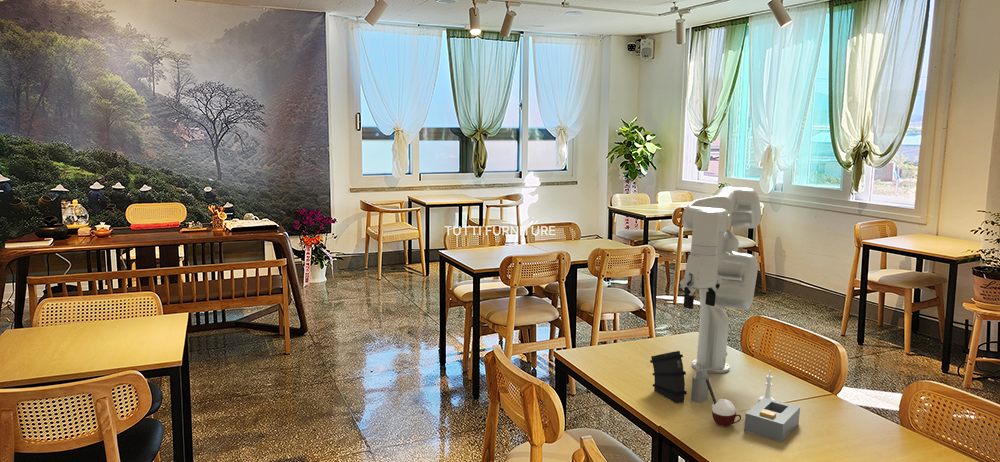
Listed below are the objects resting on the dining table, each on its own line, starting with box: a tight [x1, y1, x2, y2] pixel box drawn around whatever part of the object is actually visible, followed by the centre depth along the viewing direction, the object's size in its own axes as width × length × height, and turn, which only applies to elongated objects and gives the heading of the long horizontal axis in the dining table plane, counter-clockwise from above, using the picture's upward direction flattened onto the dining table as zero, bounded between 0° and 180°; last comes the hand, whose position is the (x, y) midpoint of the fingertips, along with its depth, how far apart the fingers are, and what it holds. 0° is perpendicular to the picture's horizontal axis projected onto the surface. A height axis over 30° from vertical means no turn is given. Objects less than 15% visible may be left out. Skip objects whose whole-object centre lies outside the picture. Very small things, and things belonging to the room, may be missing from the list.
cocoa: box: [706, 378, 742, 427], centre depth 187 cm, size 10×6×12 cm
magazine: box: [649, 350, 687, 404], centre depth 206 cm, size 4×13×15 cm, turn 26°
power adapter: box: [690, 361, 711, 404], centre depth 204 cm, size 3×5×12 cm, turn 128°
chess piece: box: [758, 369, 777, 402], centre depth 204 cm, size 5×5×10 cm
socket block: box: [743, 398, 801, 443], centre depth 186 cm, size 15×10×6 cm, turn 140°
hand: (699, 306), depth 203 cm, fingers open, 9 cm apart
